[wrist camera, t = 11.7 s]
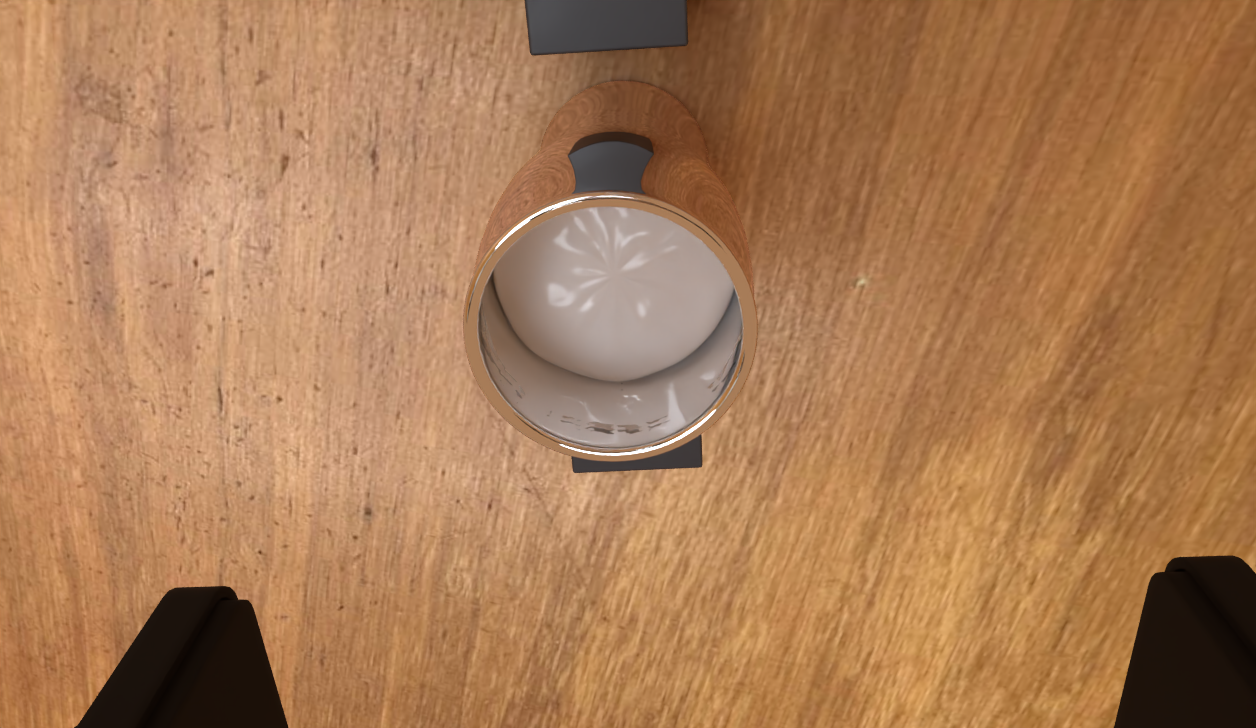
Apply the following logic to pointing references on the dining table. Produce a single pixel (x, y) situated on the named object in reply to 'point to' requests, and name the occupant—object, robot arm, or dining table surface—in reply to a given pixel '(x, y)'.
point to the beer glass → (613, 283)
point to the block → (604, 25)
